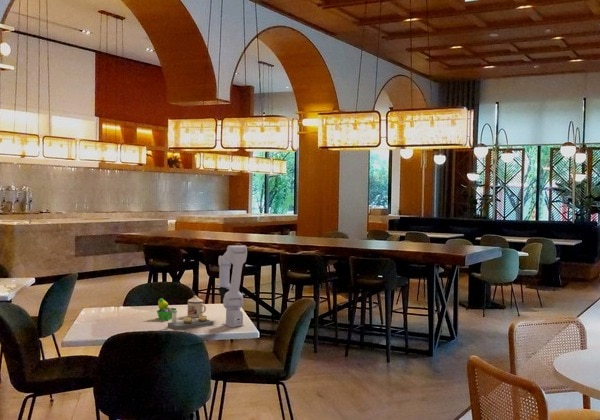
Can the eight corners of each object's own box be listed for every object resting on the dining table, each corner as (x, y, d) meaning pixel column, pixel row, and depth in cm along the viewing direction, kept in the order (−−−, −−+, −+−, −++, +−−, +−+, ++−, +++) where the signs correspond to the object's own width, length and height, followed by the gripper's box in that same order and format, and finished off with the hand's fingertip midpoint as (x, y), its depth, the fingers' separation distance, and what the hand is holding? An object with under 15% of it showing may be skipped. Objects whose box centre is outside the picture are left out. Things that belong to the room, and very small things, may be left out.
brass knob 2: (207, 324, 359) (208, 316, 359) (200, 325, 356) (201, 317, 356) (203, 323, 362) (203, 315, 362) (196, 324, 360) (196, 316, 359)
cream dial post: (177, 323, 351) (178, 310, 351) (173, 324, 350) (173, 311, 349) (175, 322, 354) (175, 310, 353) (170, 323, 352) (170, 310, 352)
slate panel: (213, 325, 359) (213, 321, 359) (177, 329, 345) (177, 326, 345) (203, 321, 367) (203, 318, 367) (167, 326, 353) (167, 322, 353)
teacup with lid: (183, 316, 380) (184, 296, 380) (193, 314, 388) (194, 294, 388) (200, 319, 375) (201, 298, 374) (210, 316, 383) (210, 296, 382)
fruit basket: (168, 321, 367) (169, 300, 366) (153, 320, 368) (154, 299, 368) (176, 317, 378) (177, 297, 377) (162, 316, 379) (162, 296, 379)
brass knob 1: (193, 326, 353) (193, 318, 353) (186, 327, 350) (186, 319, 350) (189, 325, 357) (189, 316, 357) (181, 326, 354) (182, 317, 354)
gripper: (211, 275, 381) (210, 299, 381) (225, 279, 370) (225, 303, 370) (221, 275, 386) (221, 298, 386) (236, 278, 374) (235, 302, 375)
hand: (223, 300), depth 378 cm, fingers closed
